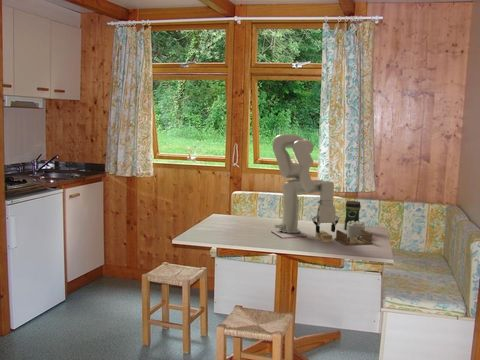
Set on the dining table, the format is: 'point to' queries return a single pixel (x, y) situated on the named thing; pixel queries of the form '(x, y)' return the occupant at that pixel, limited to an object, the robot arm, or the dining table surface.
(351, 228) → the lumpy-topped squat cylinder
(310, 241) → the dining table surface
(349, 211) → the coffee jar
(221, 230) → the dining table surface
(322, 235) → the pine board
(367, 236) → the peg cradle
